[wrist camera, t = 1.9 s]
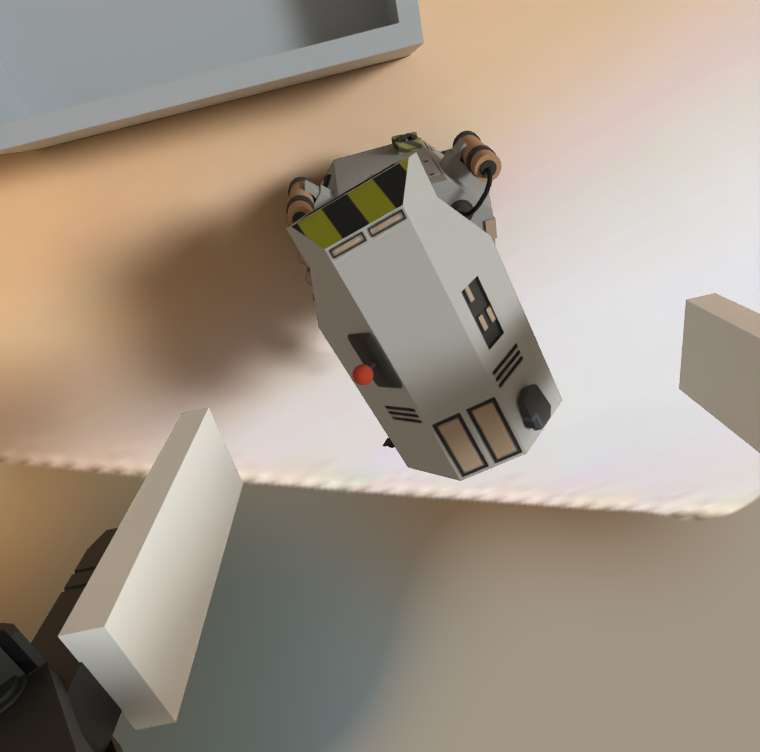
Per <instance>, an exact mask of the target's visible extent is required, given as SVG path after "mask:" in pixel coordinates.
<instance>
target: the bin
mask: <svg viewBox="0 0 760 752" xmlns="http://www.w3.org/2000/svg"><path fill="white" fill-rule="evenodd" d="M423 43H424V41H423V34H422V27H421V20H420V13H419V6H418V0H0V154H7V153H15V152H24V151H32V150H39V149H43V148H47V147H51V146H55V145H59V144H62V143H66V142H70V141H74V140H78V139H82V138H86V137H90V136H94V135H98V134H102V133H106V132H110V131H114V130H118V129H122V128H126V127H130V126H134V125H138V124H142V123H146V122H149V121H153V120H157V119H161V118H165V117H169V116H173V115H177V114H181V113H185V112H189V111H193V110H197V109H201V108H205V107H209V106H213V105H217V104H221V103H225V102H229V101H233V100H236V99H240V98H244V97H248V96H252V95H256V94H260V93H264V92H268V91H272V90H276V89H280V88H284V87H288V86H292V85H296V84H300V83H304V82H308V81H312V80H316V79H320V78H324V77H327V76H331V75H335V74H339V73H343V72H347V71H351V70H355V69H359V68H363V67H367V66H371V65H375V64H379V63H383V62H387V61H391V60H395V59H399V58H403V57H407V56H409V55H410V54H412V53H413V52H414V51H415V50H416V49H417V48H418V47H419V46H420V45H422V44H423Z"/></svg>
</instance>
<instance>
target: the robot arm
mask: <svg viewBox="0 0 760 752" xmlns="http://www.w3.org/2000/svg"><path fill="white" fill-rule="evenodd" d="M679 389H680V390H681V391H683V392H684V393H685V394H686V395H688V396H689V397H690V398H691V399H693V400H694V401H695V402H696V403H698V404H699V405H700V406H702V407H703V408H704V409H705V410H707V411H708V412H709V413H710V414H712V415H713V416H714V417H715V418H717V419H718V420H719V421H720V422H722V423H723V424H724V425H725V426H727V427H728V428H729V429H730V430H732V431H733V432H734V433H735V434H737V435H738V436H739V437H740V438H742V439H743V440H744V441H745V442H747V443H748V444H749V445H750V446H752V447H753V448H754V449H755V450H757V451H758V452H759V453H760V314H759V313H757V312H754V311H752V310H750V309H748V308H746V307H744V306H742V305H739V304H737V303H735V302H733V301H731V300H729V299H726V298H724V297H722V296H720V295H718V294H716V293H714V294H710V295H705V296H701V297H697V298H692V299H688V300H686V307H685V320H684V333H683V345H682V358H681V371H680V384H679ZM242 485H243V483H242V480H241V478H240V476H239V474H238V471H237V469H236V467H235V465H234V463H233V460H232V458H231V456H230V454H229V451H228V449H227V447H226V445H225V443H224V440H223V438H222V436H221V434H220V431H219V429H218V427H217V425H216V423H215V420H214V418H213V416H212V414H211V411H210V409H209V407H208V408H204V409H199V410H195V411H190V412H186V413H182V414H181V416H180V418H179V420H178V422H177V423H176V425H175V427H174V429H173V431H172V432H171V434H170V436H169V438H168V439H167V441H166V443H165V445H164V447H163V448H162V450H161V452H160V454H159V456H158V457H157V459H156V461H155V463H154V465H153V466H152V468H151V470H150V472H149V474H148V475H147V477H146V479H145V481H144V483H143V484H142V486H141V488H140V490H139V492H138V493H137V495H136V497H135V499H134V500H133V502H132V504H131V506H130V508H129V509H128V511H127V513H126V515H125V517H124V519H123V520H122V522H121V524H120V526H119V527H118V528H115V529H111V530H106V531H105V532H104V533H103V534H102V535H101V536H100V537H99V538H98V539H97V540H96V541H95V542H94V543H93V544H92V545H91V546H90V548H89V549H87V551H86V553H85V554H84V556H83V557H82V559H81V561H80V563H79V564H78V566H77V568H76V569H75V574H74V575H72V576H71V577H70V579H69V581H68V582H67V584H66V586H65V588H64V589H65V591H64V592H62V593H61V594H60V596H59V597H58V599H57V601H56V602H55V604H54V606H53V607H52V609H51V611H50V612H49V614H48V616H47V617H46V619H45V621H44V622H43V624H42V626H41V627H40V629H39V631H38V632H37V634H36V636H35V637H34V639H33V641H32V642H31V643H30V642H29V641H28V640H27V639H26V638H25V637H24V635H23V634H22V633H21V632H20V631H19V630H18V629H17V628H16V626H15V625H14V624H7V623H0V752H123V750H122V748H121V746H120V744H119V743H118V742H117V740H116V739H115V738H114V737H113V736H112V735H113V732H114V730H115V727H116V724H117V721H118V719H119V717H120V714H121V713H122V714H123V715H124V716H125V718H126V719H127V720H128V721H129V722H130V724H131V725H132V726H133V727H134V728H135V729H136V730H137V729H142V728H147V727H152V726H157V725H163V724H168V723H172V722H176V720H177V716H178V713H179V709H180V706H181V702H182V699H183V695H184V691H185V688H186V684H187V681H188V677H189V674H190V670H191V667H192V663H193V659H194V656H195V652H196V649H197V645H198V642H199V638H200V634H201V631H202V627H203V624H204V620H205V617H206V613H207V609H208V606H209V603H210V599H211V595H212V592H213V588H214V585H215V581H216V577H217V574H218V571H219V567H220V563H221V560H222V556H223V553H224V549H225V546H226V542H227V538H228V535H229V531H230V527H231V524H232V521H233V517H234V514H235V510H236V506H237V503H238V499H239V496H240V492H241V488H242Z"/></svg>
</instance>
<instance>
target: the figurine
mask: <svg viewBox="0 0 760 752" xmlns="http://www.w3.org/2000/svg"><path fill="white" fill-rule="evenodd" d="M500 171H501V162H500V159H499V158H498V157H497V156H496V154H495V153H494V151H493V150H492V149H490V148H489V147H488V146H486V145H484V144H483V143H482V142H481V140H480V138H479V137H478V136H477V135H476V134H475V133H473V132H472V131H464V132H461V133H460V134H459V135H457V137H456V138H455V140H454V142H453V148H452V149H450V150H446V151H442V152H439V151H438V150H436V149H435V148H433V147H432V146H430V145H429V144H427V143H426V142H424V141H423V140H421V138H419V137H417V132H412V133H407V134H404V135H397V136H393V137H392V144H390V145H387V146H383V147H379V148H376V149H372V150H368V151H365V152H361V153H357V154H354V155H350V156H347V157H343V158H339V159H336V160H334V161H333V163H332V165H331V166H330V168H329V170H328V172H327V174H326V176H325V177H324V179H323V181H322V182H321V184H320V186H317V185H315V184H313V183H312V182H311V181H310V180H309V179H307V178H305V177H298V178H295V179H294V180H293V181H292V182H291V183H290V185H289V190H288V193H289V202H288V205H287V222H288V225H289V227H288V228H286V230H287V232H288V233H289V235H290V236H291V238H292V240H293V241H294V243H295V245H296V246H297V248H298V250H299V260H300V262H301V263H302V264H304V265H306V267H307V274H306V280H307V282H308V283H309V284H310V285H312V286H313V292H314V294H313V300H314V301H315V305H316V312H317V319H318V325H319V328H320V330H321V331H322V333H323V335H324V336H325V338H326V339H327V341H328V342H329V344H330V346H331V347H332V349H333V350H334V352H335V353H336V355H337V357H338V358H339V360H340V361H341V363H342V364H343V366H344V368H345V369H346V371H347V372H348V374H349V375H350V377H351V379H352V380H353V382H354V383H355V385H356V386H357V388H358V390H359V391H360V393H361V394H362V396H363V397H364V399H365V401H366V402H367V404H368V405H369V407H370V408H371V410H372V411H373V413H374V415H375V416H376V418H377V419H378V421H379V422H380V424H381V426H382V427H383V429H384V430H385V432H386V433H387V435H388V437H389V438H387V440H386V441H385V443H384V444H383V446H389V447H391V448H393V447H395V448H396V449H397V451H398V452H399V454H400V455H401V457H402V459H403V460H404V462H405V463H406V465H407V466H408V467H409V468H413V469H417V470H420V471H424V472H428V473H432V474H436V475H440V476H444V477H448V478H452V479H456V480H459V481H462V480H464V479H466V478H469V477H471V476H473V475H476V474H478V473H481V472H483V471H485V470H488V469H490V468H493V467H495V466H497V465H500V464H502V463H504V462H507V461H509V460H512V459H514V458H516V457H519V456H521V455H524V454H526V453H527V452H528V451H529V449H530V448H531V446H532V445H533V443H534V442H535V440H536V439H537V437H538V436H539V434H540V433H541V431H542V430H543V428H544V427H545V425H546V424H547V422H548V421H549V419H550V418H551V416H552V415H553V413H554V412H555V410H556V409H557V407H558V406H559V404H560V403H561V401H562V398H561V396H560V393H559V391H558V389H557V386H556V384H555V382H554V379H553V377H552V375H551V373H550V370H549V368H548V366H547V363H546V361H545V359H544V357H543V354H542V352H541V350H540V347H539V345H538V343H537V341H536V338H535V336H534V334H533V331H532V329H531V327H530V324H529V322H528V320H527V318H526V315H525V313H524V311H523V308H522V306H521V304H520V302H519V299H518V297H517V295H516V292H515V290H514V288H513V286H512V283H511V281H510V279H509V276H508V274H507V272H506V269H505V267H504V265H503V263H502V260H501V258H500V256H499V253H498V251H497V249H496V247H495V238H497V234H496V221H495V218H494V216H493V212H492V208H491V201H490V196H489V190H490V187H491V184H492V181H493V180H494V179H495V178H496V177H497V176H498V175H499V173H500ZM486 182H487V184H486Z"/></svg>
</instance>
